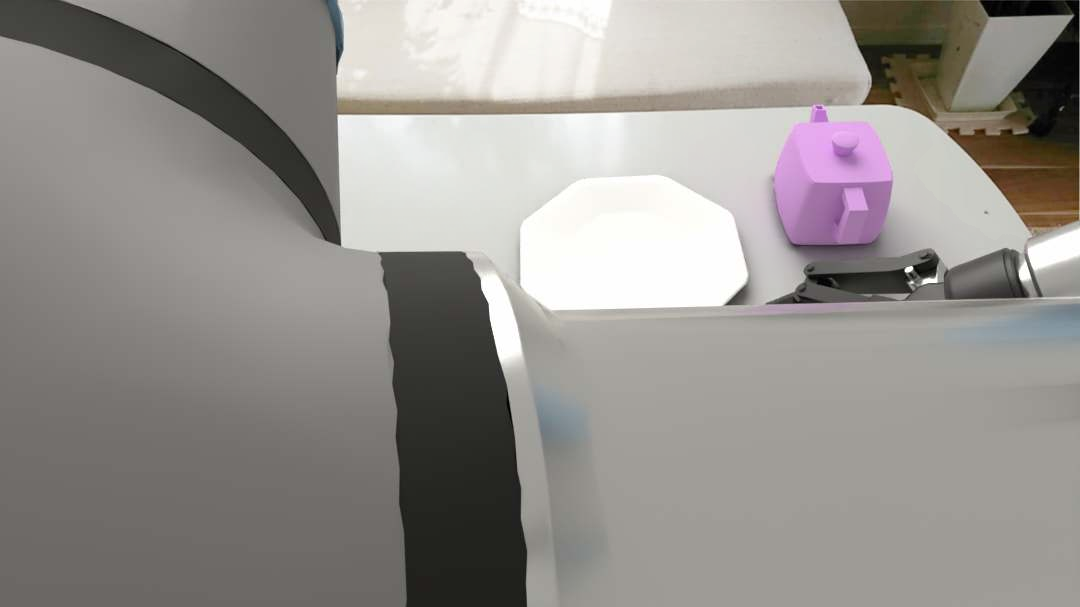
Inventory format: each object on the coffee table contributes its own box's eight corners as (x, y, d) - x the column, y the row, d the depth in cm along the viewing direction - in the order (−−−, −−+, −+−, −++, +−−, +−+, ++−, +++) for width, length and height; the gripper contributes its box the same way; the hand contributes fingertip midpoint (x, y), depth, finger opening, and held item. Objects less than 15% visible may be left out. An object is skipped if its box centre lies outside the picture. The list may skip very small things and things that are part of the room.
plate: (521, 352, 74) (519, 343, 73) (521, 190, 89) (520, 180, 88) (761, 342, 73) (764, 333, 72) (720, 180, 88) (722, 170, 87)
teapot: (760, 157, 90) (777, 85, 82) (849, 155, 90) (874, 82, 82) (788, 268, 79) (810, 197, 71) (890, 267, 78) (924, 194, 71)
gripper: (1135, 552, 34) (737, 599, 48) (1032, 208, 50) (758, 316, 64) (1068, 466, 31) (663, 542, 45) (982, 130, 47) (706, 260, 61)
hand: (719, 409), depth 54 cm, fingers open, 13 cm apart
